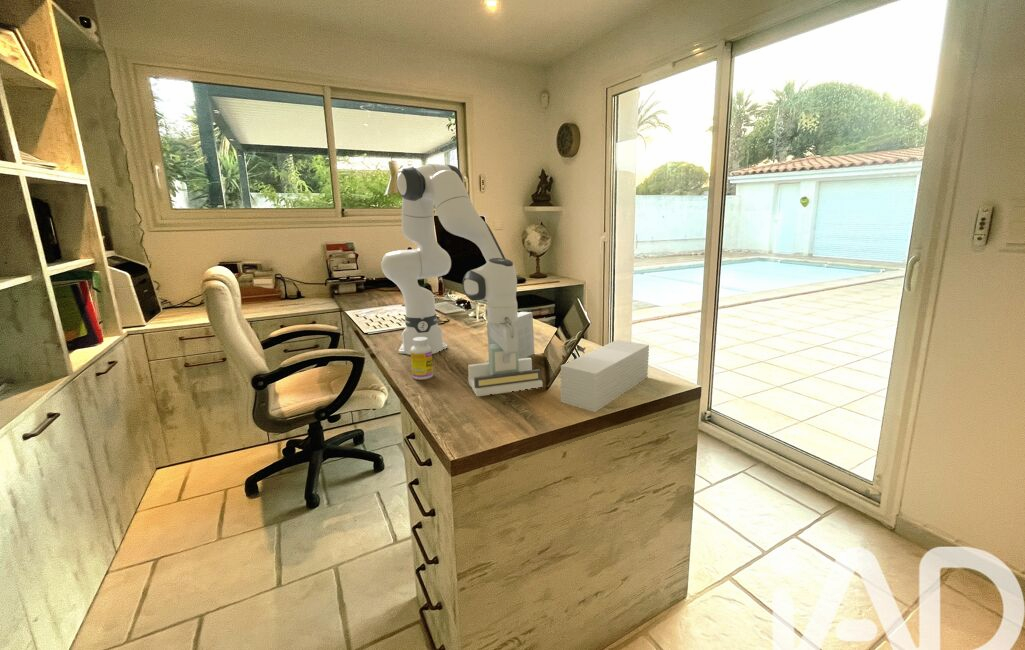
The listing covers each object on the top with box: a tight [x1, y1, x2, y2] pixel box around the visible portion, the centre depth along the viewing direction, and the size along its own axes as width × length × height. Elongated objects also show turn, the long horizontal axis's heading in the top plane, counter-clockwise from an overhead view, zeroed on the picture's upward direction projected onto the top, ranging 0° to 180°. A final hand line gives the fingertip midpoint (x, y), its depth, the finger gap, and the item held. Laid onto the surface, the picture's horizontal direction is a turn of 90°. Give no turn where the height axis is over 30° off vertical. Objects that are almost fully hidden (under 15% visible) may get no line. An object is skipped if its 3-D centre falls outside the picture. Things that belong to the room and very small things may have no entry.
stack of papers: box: [560, 339, 650, 413], centre depth 128 cm, size 32×11×11 cm, turn 139°
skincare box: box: [486, 311, 535, 359], centre depth 155 cm, size 21×6×16 cm, turn 144°
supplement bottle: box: [410, 337, 434, 381], centre depth 141 cm, size 7×7×13 cm
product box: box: [488, 344, 519, 375], centre depth 132 cm, size 8×5×9 cm, turn 106°
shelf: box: [467, 357, 543, 397], centre depth 133 cm, size 12×20×6 cm, turn 107°
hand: (503, 359), depth 132 cm, fingers closed on product box, 5 cm apart
